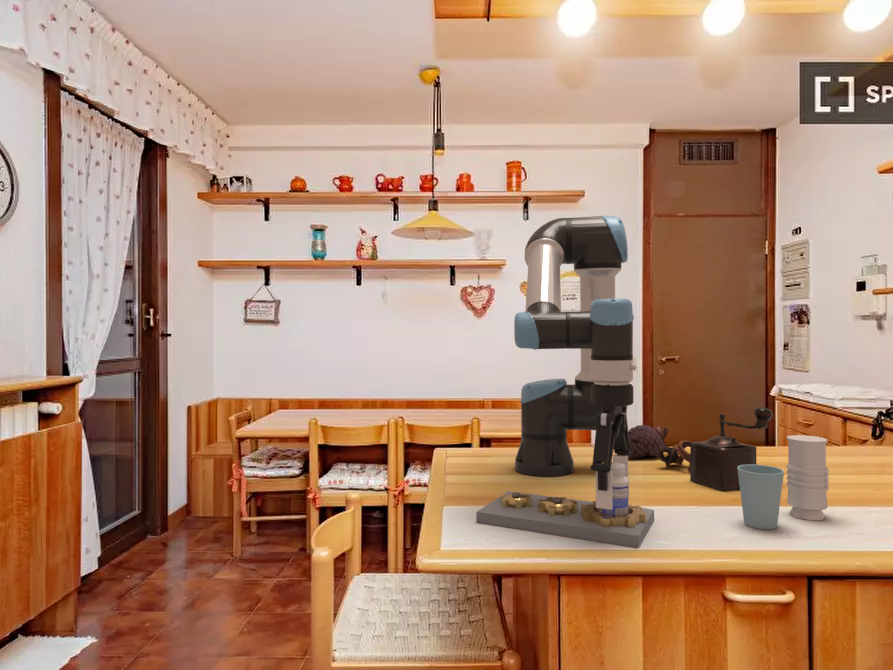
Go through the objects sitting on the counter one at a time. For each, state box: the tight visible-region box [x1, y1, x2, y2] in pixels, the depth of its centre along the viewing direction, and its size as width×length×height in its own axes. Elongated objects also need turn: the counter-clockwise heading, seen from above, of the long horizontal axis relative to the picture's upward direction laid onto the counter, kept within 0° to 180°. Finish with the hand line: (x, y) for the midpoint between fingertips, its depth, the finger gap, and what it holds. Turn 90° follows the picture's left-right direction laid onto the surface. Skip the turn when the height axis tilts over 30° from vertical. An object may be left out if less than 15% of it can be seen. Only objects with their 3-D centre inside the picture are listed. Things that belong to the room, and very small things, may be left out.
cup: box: [737, 464, 785, 530], centre depth 112 cm, size 8×8×10 cm
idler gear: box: [499, 491, 532, 509], centre depth 119 cm, size 6×6×2 cm
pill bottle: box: [598, 461, 630, 516], centre depth 110 cm, size 5×5×10 cm
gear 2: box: [581, 500, 647, 528], centre depth 111 cm, size 12×12×1 cm
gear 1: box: [538, 496, 578, 516], centre depth 116 cm, size 8×8×2 cm
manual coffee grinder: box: [689, 406, 774, 492], centre depth 141 cm, size 16×11×18 cm
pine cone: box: [626, 424, 670, 460], centre depth 170 cm, size 18×10×10 cm
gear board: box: [476, 490, 655, 549], centre depth 115 cm, size 30×16×2 cm, turn 62°
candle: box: [786, 434, 829, 521], centre depth 117 cm, size 7×7×15 cm
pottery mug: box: [657, 439, 692, 473], centre depth 155 cm, size 12×10×8 cm
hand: (612, 498), depth 111 cm, fingers open, 13 cm apart
